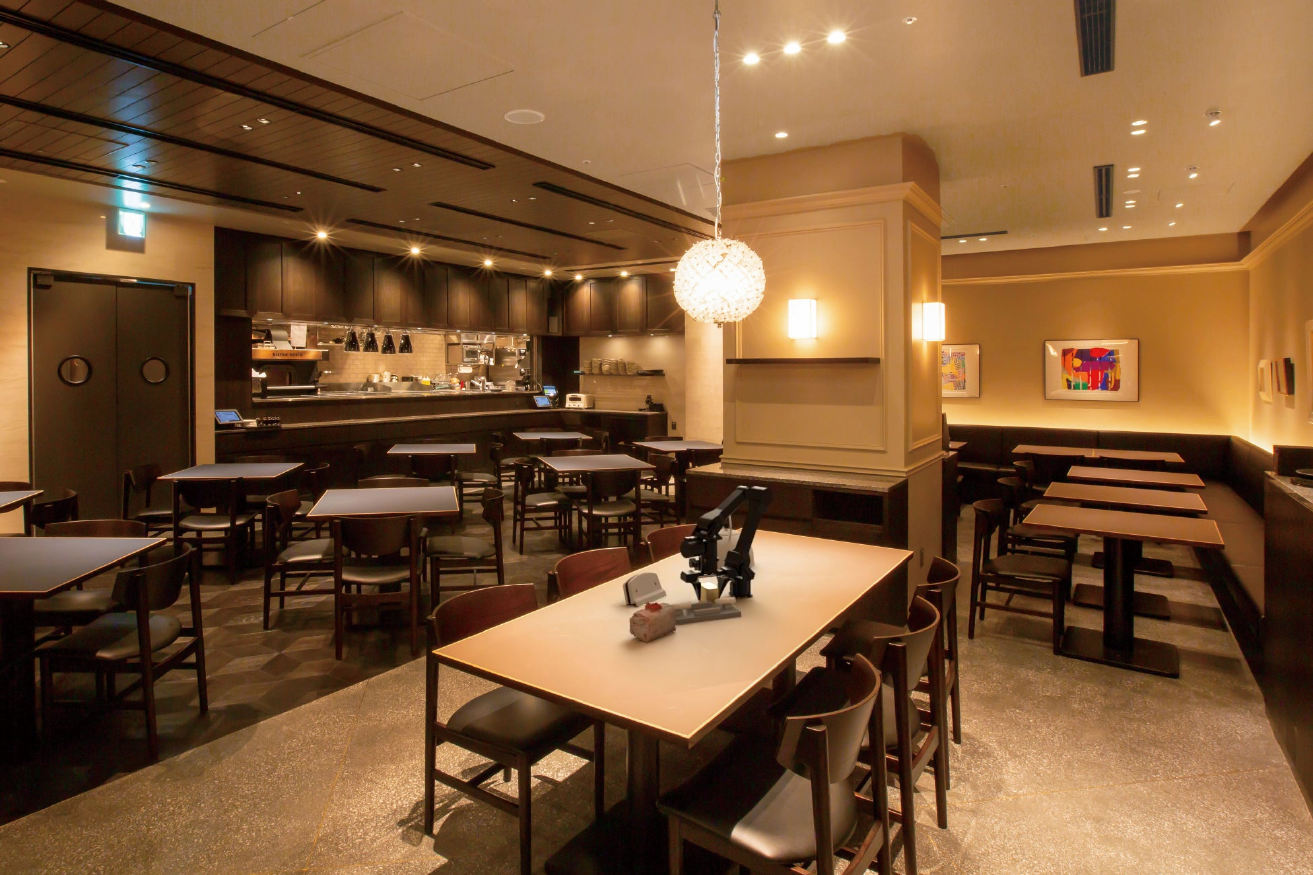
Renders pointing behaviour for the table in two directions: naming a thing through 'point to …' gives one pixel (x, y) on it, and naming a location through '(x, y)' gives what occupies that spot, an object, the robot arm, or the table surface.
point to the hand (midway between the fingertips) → (708, 599)
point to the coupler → (709, 593)
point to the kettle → (729, 544)
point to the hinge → (643, 589)
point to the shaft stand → (705, 611)
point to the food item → (653, 621)
